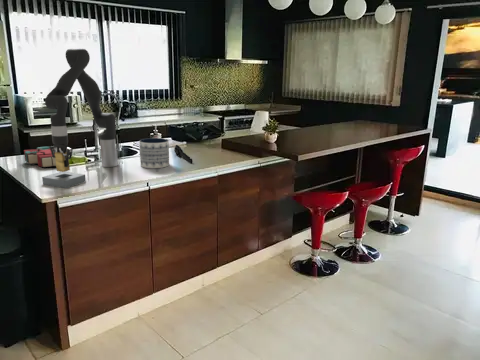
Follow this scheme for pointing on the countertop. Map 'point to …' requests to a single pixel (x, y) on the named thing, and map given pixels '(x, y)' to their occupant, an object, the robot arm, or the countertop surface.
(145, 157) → the planter
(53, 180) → the hole block
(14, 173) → the countertop surface
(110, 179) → the countertop surface
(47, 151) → the toy
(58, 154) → the peg
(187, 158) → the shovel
